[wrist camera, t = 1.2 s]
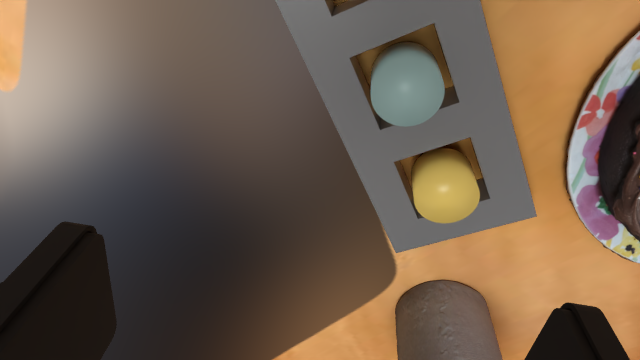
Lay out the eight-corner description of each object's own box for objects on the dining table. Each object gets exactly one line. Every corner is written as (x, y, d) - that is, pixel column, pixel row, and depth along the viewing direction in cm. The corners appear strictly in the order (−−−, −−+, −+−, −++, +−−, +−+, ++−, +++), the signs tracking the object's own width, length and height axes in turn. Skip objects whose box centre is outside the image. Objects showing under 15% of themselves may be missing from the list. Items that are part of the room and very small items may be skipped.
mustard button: (462, 139, 35) (470, 162, 32) (478, 188, 37) (487, 213, 35) (403, 159, 37) (405, 182, 34) (421, 204, 39) (425, 230, 36)
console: (416, -213, 26) (421, -223, 23) (526, 195, 40) (536, 216, 37) (236, -109, 29) (223, -108, 27) (394, 231, 43) (395, 253, 41)
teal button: (426, 30, 31) (431, 45, 28) (446, 92, 33) (453, 112, 30) (361, 57, 32) (359, 74, 30) (384, 115, 35) (385, 135, 32)
